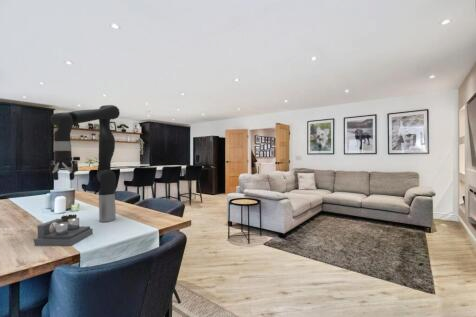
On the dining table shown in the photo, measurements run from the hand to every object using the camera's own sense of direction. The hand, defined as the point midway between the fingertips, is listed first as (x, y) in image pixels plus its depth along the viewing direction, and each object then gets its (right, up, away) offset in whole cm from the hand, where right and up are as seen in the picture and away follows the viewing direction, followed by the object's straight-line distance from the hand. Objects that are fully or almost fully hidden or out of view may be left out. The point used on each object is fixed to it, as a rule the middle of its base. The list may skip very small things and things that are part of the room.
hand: (64, 179), depth 129 cm
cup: (-4, -30, +9) cm, 31 cm away
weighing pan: (+7, -27, -7) cm, 29 cm away
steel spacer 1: (+7, -26, -11) cm, 29 cm away
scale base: (+6, -30, -7) cm, 31 cm away
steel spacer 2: (+7, -25, -3) cm, 27 cm away
